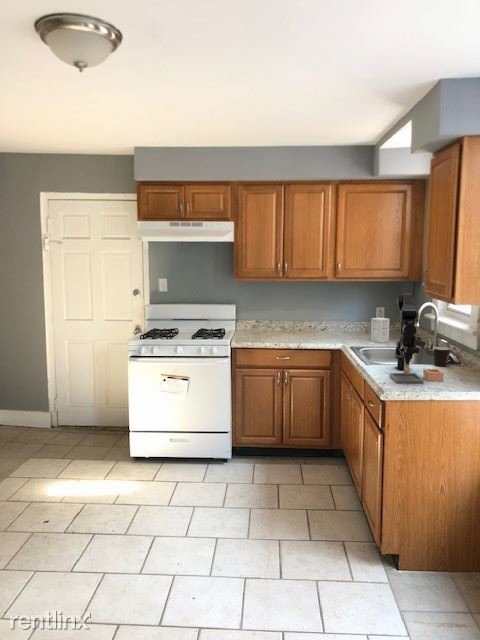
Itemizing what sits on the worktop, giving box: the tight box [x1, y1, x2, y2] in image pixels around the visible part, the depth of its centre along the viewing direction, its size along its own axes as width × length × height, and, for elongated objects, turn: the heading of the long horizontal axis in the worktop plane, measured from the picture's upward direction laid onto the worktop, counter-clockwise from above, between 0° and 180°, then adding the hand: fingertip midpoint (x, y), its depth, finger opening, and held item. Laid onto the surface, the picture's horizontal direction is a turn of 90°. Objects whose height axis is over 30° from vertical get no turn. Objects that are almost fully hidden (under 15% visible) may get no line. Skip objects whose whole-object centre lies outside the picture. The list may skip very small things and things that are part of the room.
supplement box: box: [370, 317, 390, 344], centre depth 354 cm, size 10×9×17 cm
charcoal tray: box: [389, 372, 425, 385], centre depth 246 cm, size 13×13×2 cm
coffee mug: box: [432, 346, 450, 368], centre depth 278 cm, size 12×9×10 cm
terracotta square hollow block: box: [422, 368, 445, 382], centre depth 248 cm, size 7×7×4 cm
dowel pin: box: [403, 358, 410, 376], centre depth 246 cm, size 2×2×9 cm
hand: (406, 363), depth 246 cm, fingers closed on dowel pin, 2 cm apart
